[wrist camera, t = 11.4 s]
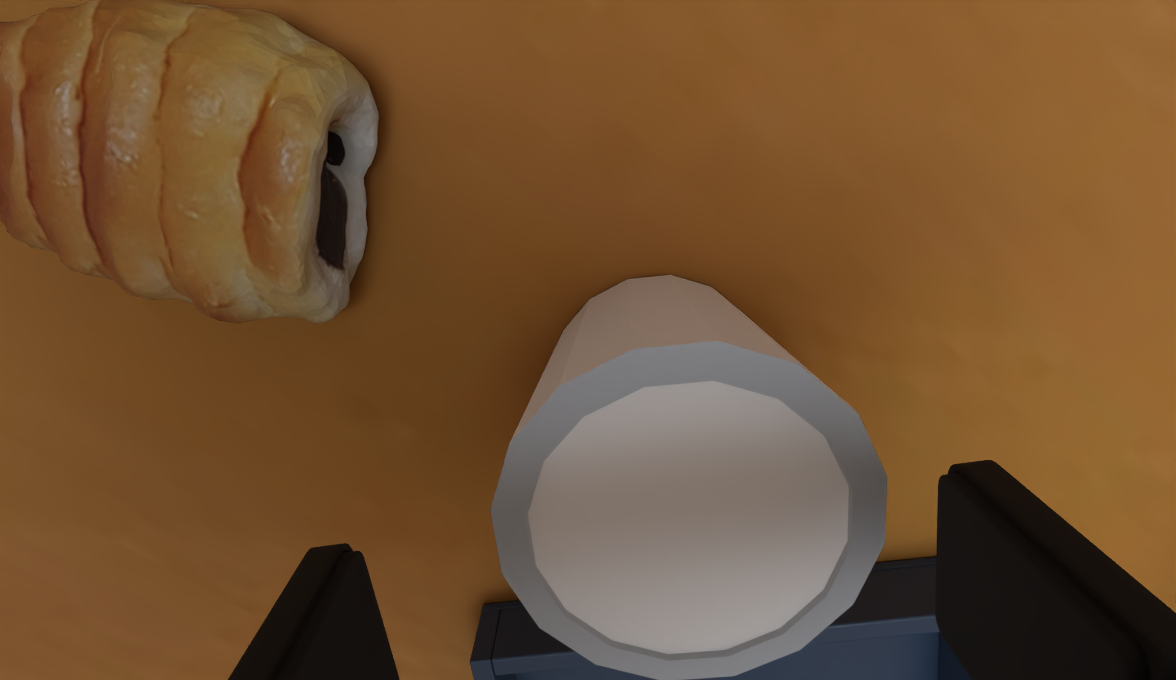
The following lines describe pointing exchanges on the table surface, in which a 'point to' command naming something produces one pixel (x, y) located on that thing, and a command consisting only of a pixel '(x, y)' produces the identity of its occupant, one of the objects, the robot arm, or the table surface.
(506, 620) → the tray
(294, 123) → the pastry
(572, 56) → the table surface
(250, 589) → the table surface
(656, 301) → the white tapered tub
